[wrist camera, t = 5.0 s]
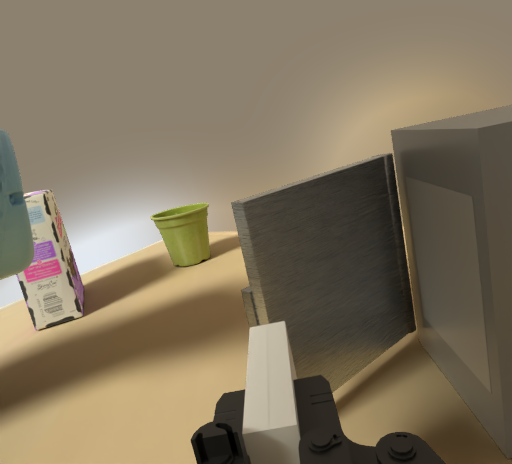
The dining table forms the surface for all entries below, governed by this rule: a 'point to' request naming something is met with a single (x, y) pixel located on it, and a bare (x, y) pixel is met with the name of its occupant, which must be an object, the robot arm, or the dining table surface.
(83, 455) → the dining table surface
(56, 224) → the candy box
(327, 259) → the side door
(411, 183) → the grey inset panel box
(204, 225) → the plant pot
